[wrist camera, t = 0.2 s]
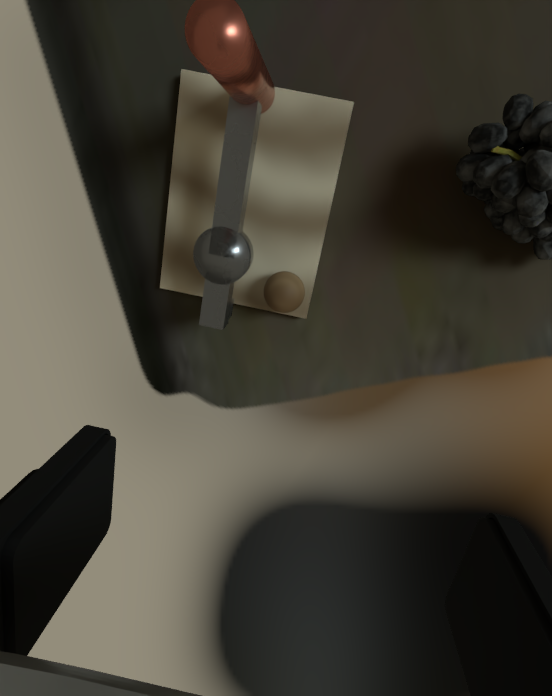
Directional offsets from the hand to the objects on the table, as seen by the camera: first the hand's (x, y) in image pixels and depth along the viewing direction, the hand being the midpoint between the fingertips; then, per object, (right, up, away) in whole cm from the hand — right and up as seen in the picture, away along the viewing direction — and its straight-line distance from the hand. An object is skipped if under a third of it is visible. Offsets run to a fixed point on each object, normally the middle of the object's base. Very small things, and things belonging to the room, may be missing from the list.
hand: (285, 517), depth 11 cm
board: (-2, +17, +28) cm, 33 cm away
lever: (-3, +16, +25) cm, 30 cm away
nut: (+1, +10, +29) cm, 30 cm away
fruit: (+25, +13, +26) cm, 39 cm away
